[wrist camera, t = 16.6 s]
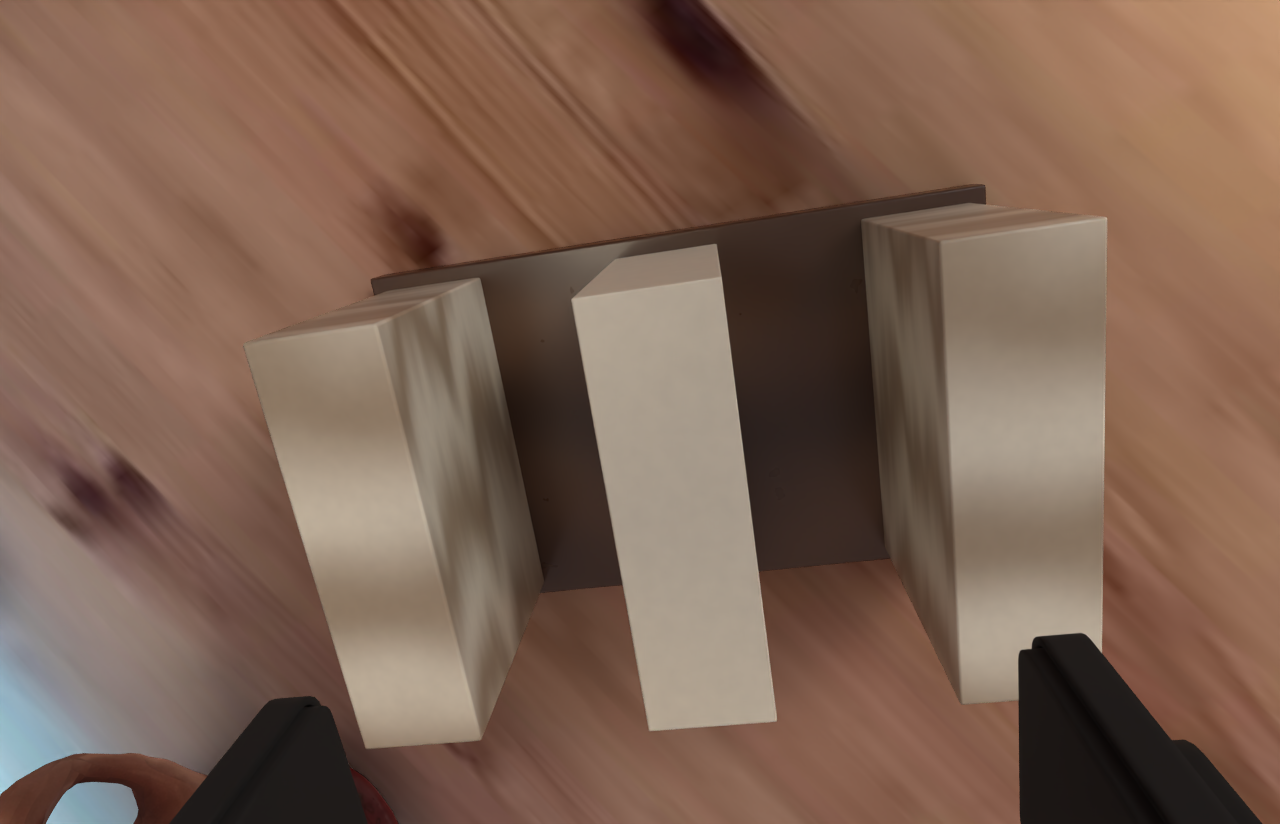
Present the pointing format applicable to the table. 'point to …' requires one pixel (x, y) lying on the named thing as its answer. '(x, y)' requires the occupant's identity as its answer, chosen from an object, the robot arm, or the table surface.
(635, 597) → the cream rectangular block
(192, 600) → the table surface
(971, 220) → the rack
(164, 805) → the decorative planter
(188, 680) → the table surface
